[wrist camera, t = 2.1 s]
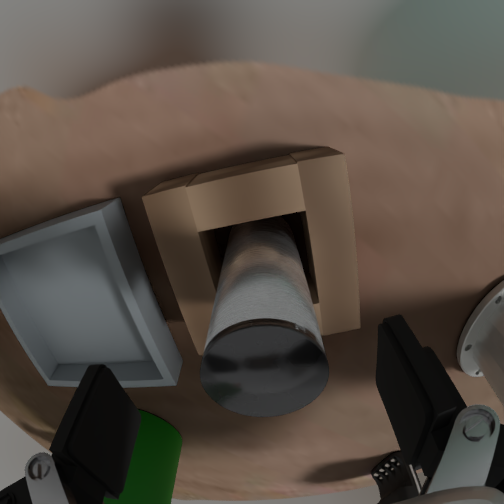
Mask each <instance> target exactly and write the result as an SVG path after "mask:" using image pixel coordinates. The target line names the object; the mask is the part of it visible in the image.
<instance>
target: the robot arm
mask: <svg viewBox="0 0 504 504" xmlns="http://www.w3.org/2000/svg"><path fill="white" fill-rule="evenodd" d="M457 360H458V363H459V365H460V367H461V368H462V370H463V371H464V372H465V373H466V374H467V375H469V376H473V377H479V376H485V378H486V379H487V381H488V383H489V384H490V386H491V387H492V389H493V390H494V392H495V394H496V395H497V397H498V398H499V400H500V402H501V403H502V405H503V407H504V281H502V282H501V283H500V284H498V285H497V286H496V287H494V288H493V289H492V290H491V291H490V292H489V293H488V294H487V295H486V296H485V297H484V299H483V300H482V301H481V302H480V303H479V305H478V306H477V307H476V309H475V310H474V312H473V313H472V314H471V316H470V318H469V319H468V321H467V323H466V325H465V326H464V329H463V331H462V334H461V336H460V339H459V343H458V346H457ZM376 385H377V388H378V391H379V393H380V396H381V398H382V401H383V404H384V406H385V409H386V411H387V414H388V417H389V419H390V422H391V425H392V427H393V430H394V433H395V435H396V438H397V441H398V444H399V447H400V449H401V452H402V455H403V458H404V461H405V463H406V465H412V468H413V471H416V470H418V469H421V468H422V470H423V473H424V475H425V476H427V478H426V480H425V483H424V485H423V487H422V489H421V491H420V493H419V495H418V496H417V497H414V498H411V499H407V500H404V501H400V502H396V503H393V504H504V425H503V424H500V420H499V417H498V415H497V414H496V412H495V411H494V410H493V409H491V408H490V407H488V406H485V405H472V406H468V407H467V406H466V404H465V402H464V401H463V399H462V397H461V395H460V394H459V392H458V390H457V389H456V387H455V385H454V384H453V382H452V380H451V379H450V377H449V375H448V374H447V372H446V370H445V369H444V367H443V366H442V364H441V362H440V361H439V359H438V358H437V356H436V354H435V353H434V351H433V350H432V349H431V348H430V347H428V346H427V347H424V348H422V346H421V345H420V343H419V342H418V340H417V338H416V337H415V335H414V334H413V332H412V331H411V329H410V327H409V326H408V324H407V323H406V321H405V320H404V318H403V317H402V315H400V314H399V315H396V316H392V317H388V318H385V319H384V320H383V324H379V326H378V348H377V367H376ZM140 424H141V414H140V412H139V411H138V409H137V408H136V406H135V405H134V404H133V402H132V401H131V399H130V398H129V396H128V395H127V393H126V392H125V391H124V389H123V388H122V386H121V385H120V383H119V381H118V380H117V378H116V377H115V375H114V374H113V372H112V371H111V369H110V368H107V366H106V365H104V364H95V365H89V366H88V368H87V370H86V371H85V373H84V375H83V377H82V379H81V381H80V383H79V386H78V388H77V390H76V392H75V394H74V396H73V398H72V400H71V402H70V404H69V406H68V408H67V411H66V413H65V415H64V417H63V419H62V421H61V424H60V426H59V428H58V430H57V433H56V435H55V437H54V440H53V442H52V444H51V447H50V449H49V450H50V451H51V452H52V456H50V455H49V454H48V453H45V452H44V453H38V454H35V455H34V456H32V457H31V458H30V459H29V460H28V462H27V464H26V467H25V477H24V478H22V479H20V480H18V481H17V482H15V483H13V484H12V485H10V486H8V487H6V488H4V489H3V490H1V491H0V504H105V503H104V501H103V500H104V496H105V497H106V498H110V499H117V500H119V495H120V493H122V492H123V490H124V486H125V482H126V478H127V474H128V470H129V466H130V462H131V458H132V454H133V450H134V446H135V442H136V438H137V435H138V431H139V427H140Z"/></svg>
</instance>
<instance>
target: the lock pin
mask: <svg viewBox="0 0 504 504" xmlns="http://www.w3.org/2000/svg"><path fill="white" fill-rule="evenodd" d="M328 377H329V366H328V361H327V357H326V353H325V349H324V345H323V341H322V337H321V334H320V330H319V326H318V322H317V318H316V314H315V311H314V307H313V303H312V299H311V296H310V292H309V288H308V285H307V281H306V278H305V274H304V270H303V267H302V263H301V260H300V256H299V253H298V249H297V246H296V242H295V239H294V236H293V232H292V230H291V228H290V226H289V225H288V223H287V222H286V221H285V220H284V219H283V218H281V217H280V216H274V217H269V218H264V219H259V220H254V221H249V222H244V223H239V224H234V225H233V227H232V229H231V231H230V234H229V238H228V243H227V247H226V251H225V256H224V260H223V265H222V269H221V274H220V278H219V283H218V287H217V292H216V296H215V301H214V306H213V310H212V315H211V320H210V324H209V329H208V334H207V339H206V344H205V348H204V353H203V358H202V363H201V368H200V379H201V383H202V386H203V388H204V389H205V391H206V393H207V394H208V395H209V396H210V397H211V398H212V399H213V400H214V401H215V402H216V403H218V404H219V405H221V406H222V407H224V408H226V409H228V410H230V411H233V412H236V413H239V414H243V415H248V416H255V417H271V416H279V415H284V414H287V413H291V412H294V411H296V410H298V409H301V408H303V407H304V406H306V405H308V404H309V403H311V402H312V401H313V400H315V399H316V398H317V397H318V396H319V395H320V393H321V392H322V391H323V389H324V387H325V386H326V383H327V381H328Z"/></svg>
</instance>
